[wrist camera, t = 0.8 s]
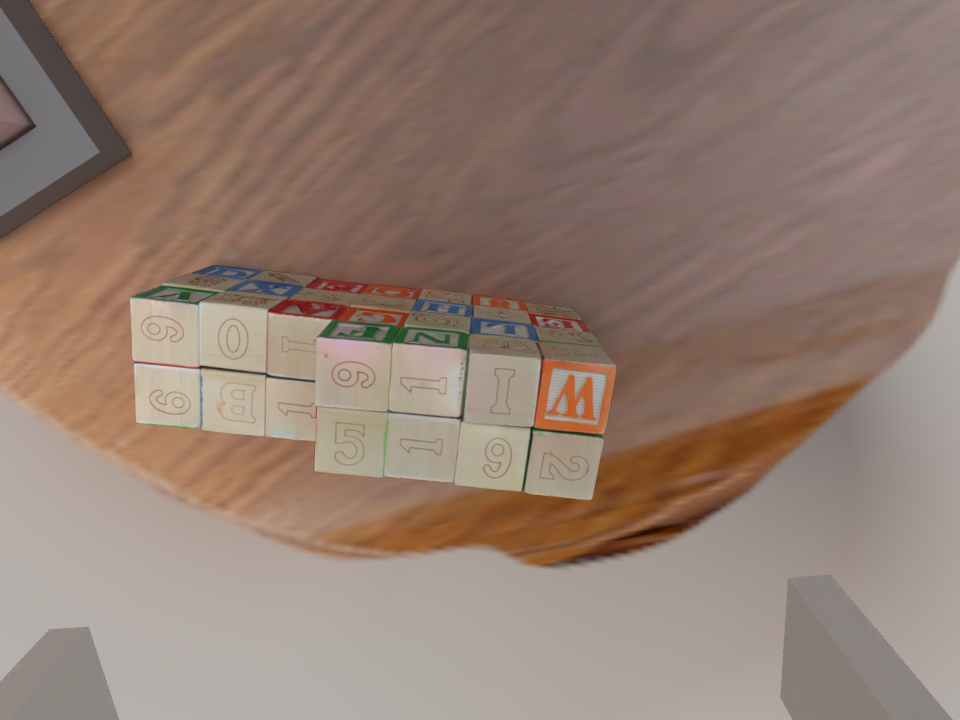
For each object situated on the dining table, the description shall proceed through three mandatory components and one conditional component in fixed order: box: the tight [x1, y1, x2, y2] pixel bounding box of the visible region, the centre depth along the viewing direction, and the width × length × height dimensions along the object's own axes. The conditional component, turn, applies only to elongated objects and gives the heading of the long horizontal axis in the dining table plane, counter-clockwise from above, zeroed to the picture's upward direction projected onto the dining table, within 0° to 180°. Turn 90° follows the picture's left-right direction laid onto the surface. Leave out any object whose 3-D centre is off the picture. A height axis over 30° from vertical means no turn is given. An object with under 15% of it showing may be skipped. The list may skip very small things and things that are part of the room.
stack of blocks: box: [130, 265, 616, 500], centre depth 32 cm, size 21×6×12 cm, turn 83°
